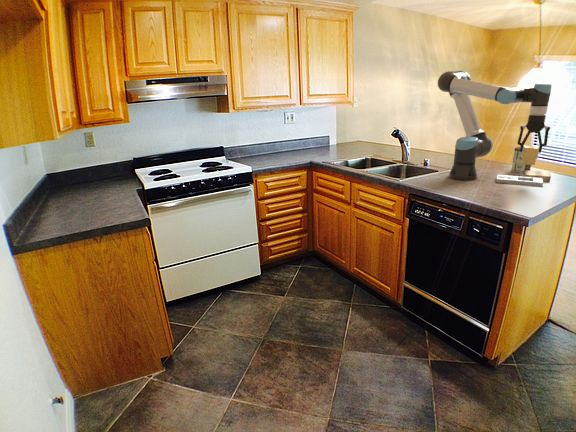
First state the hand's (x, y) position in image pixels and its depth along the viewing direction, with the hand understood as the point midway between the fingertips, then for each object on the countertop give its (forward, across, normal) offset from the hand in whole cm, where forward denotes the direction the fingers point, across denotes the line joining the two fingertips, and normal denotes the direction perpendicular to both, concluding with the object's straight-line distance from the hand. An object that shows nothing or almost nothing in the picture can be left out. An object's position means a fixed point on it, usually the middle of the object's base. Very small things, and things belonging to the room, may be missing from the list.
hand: (529, 158), depth 204 cm
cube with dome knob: (+3, 0, 0) cm, 3 cm away
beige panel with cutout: (+14, -3, 0) cm, 14 cm away
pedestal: (+14, +6, +13) cm, 20 cm away
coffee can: (+14, -2, +30) cm, 33 cm away
